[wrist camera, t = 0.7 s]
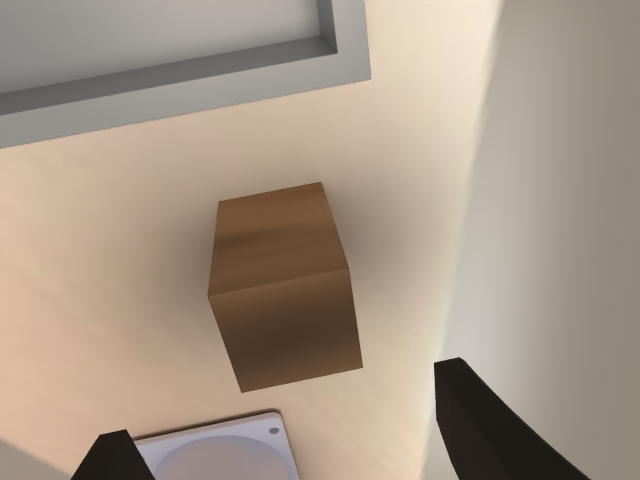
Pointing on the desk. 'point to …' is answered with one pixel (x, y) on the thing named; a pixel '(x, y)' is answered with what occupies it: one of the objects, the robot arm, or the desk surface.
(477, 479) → the robot arm
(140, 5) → the grey bin
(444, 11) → the desk surface
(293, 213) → the walnut block
